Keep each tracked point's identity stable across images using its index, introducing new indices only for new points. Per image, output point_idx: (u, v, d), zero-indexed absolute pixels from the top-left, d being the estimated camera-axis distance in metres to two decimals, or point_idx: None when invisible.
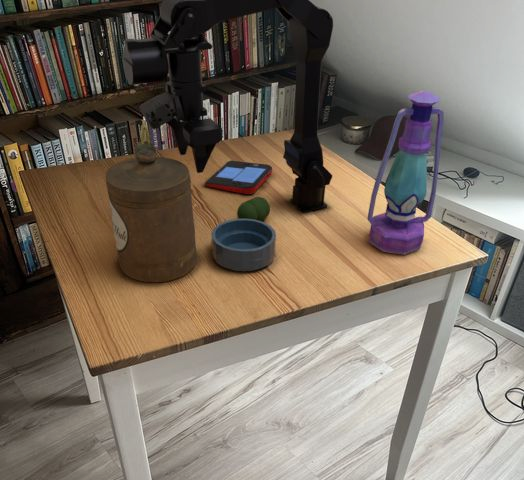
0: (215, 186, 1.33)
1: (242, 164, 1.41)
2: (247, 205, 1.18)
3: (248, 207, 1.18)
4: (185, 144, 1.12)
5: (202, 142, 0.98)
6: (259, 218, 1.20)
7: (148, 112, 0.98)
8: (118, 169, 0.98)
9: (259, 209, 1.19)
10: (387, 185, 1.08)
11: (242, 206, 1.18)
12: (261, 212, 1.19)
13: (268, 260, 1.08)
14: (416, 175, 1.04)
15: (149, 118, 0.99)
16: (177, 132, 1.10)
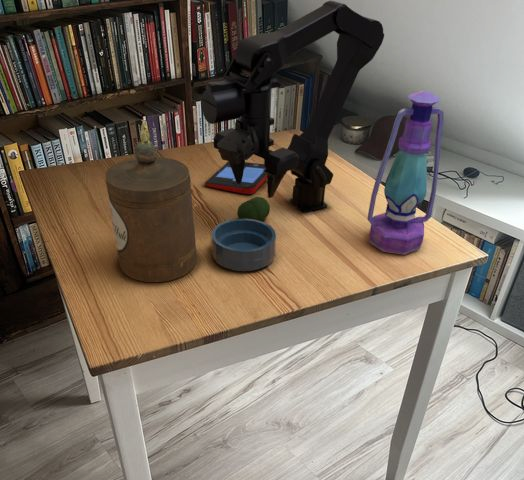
0: (215, 186, 1.33)
1: None
2: (247, 205, 1.18)
3: (248, 207, 1.18)
4: (241, 173, 1.19)
5: (286, 170, 1.08)
6: (259, 218, 1.20)
7: (233, 150, 1.05)
8: (118, 169, 0.98)
9: (259, 209, 1.19)
10: (387, 185, 1.08)
11: (242, 206, 1.18)
12: (261, 212, 1.19)
13: (268, 260, 1.08)
14: (416, 175, 1.04)
15: (234, 155, 1.05)
16: (235, 163, 1.17)
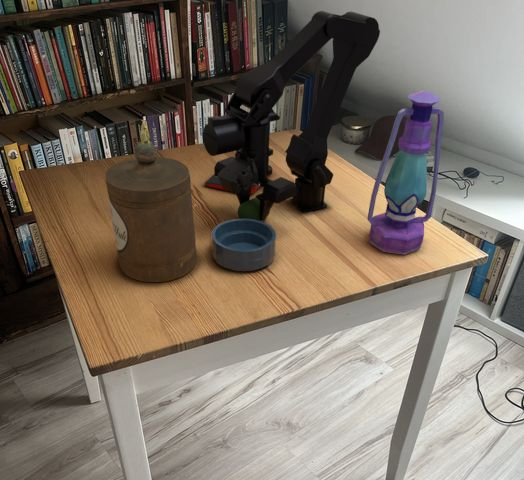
0: (215, 186, 1.33)
1: None
2: (247, 205, 1.18)
3: (248, 207, 1.18)
4: None
5: (284, 199, 1.12)
6: (259, 218, 1.20)
7: (233, 180, 1.09)
8: (118, 169, 0.98)
9: (259, 209, 1.19)
10: (387, 185, 1.08)
11: (242, 206, 1.18)
12: None
13: (268, 260, 1.08)
14: (416, 175, 1.04)
15: (234, 185, 1.09)
16: (242, 194, 1.20)
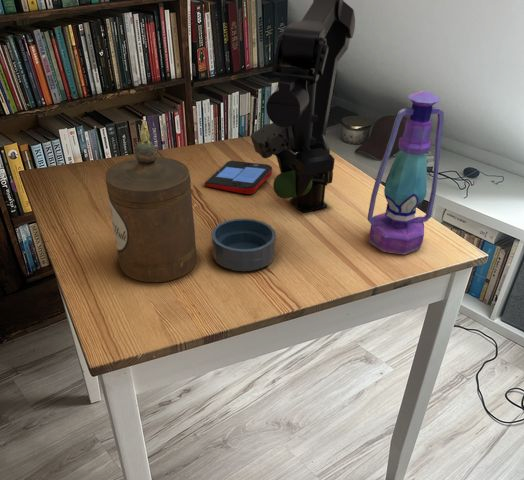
0: (215, 186, 1.33)
1: (242, 164, 1.41)
2: (283, 175, 1.07)
3: (283, 178, 1.07)
4: None
5: (315, 172, 0.99)
6: (295, 192, 1.08)
7: (262, 142, 0.99)
8: (118, 169, 0.98)
9: None
10: (387, 185, 1.08)
11: (278, 176, 1.07)
12: None
13: (268, 260, 1.08)
14: (416, 175, 1.04)
15: (262, 148, 0.99)
16: (283, 163, 1.09)
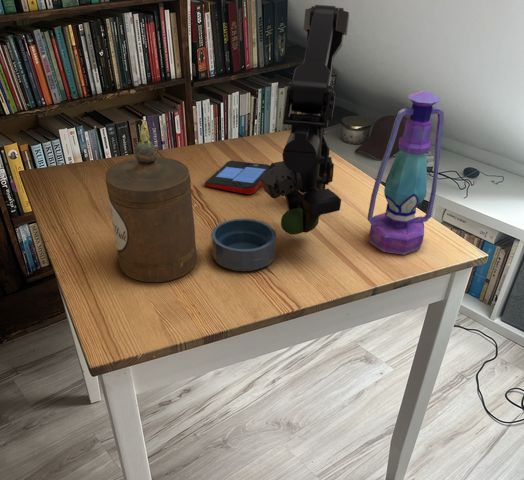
0: (215, 186, 1.33)
1: (242, 164, 1.41)
2: (291, 213, 1.10)
3: (291, 215, 1.10)
4: None
5: (322, 213, 1.02)
6: (302, 229, 1.11)
7: (271, 184, 1.02)
8: (118, 169, 0.98)
9: None
10: (387, 185, 1.08)
11: (286, 213, 1.11)
12: None
13: (268, 260, 1.08)
14: (416, 175, 1.04)
15: (271, 189, 1.03)
16: (291, 200, 1.12)
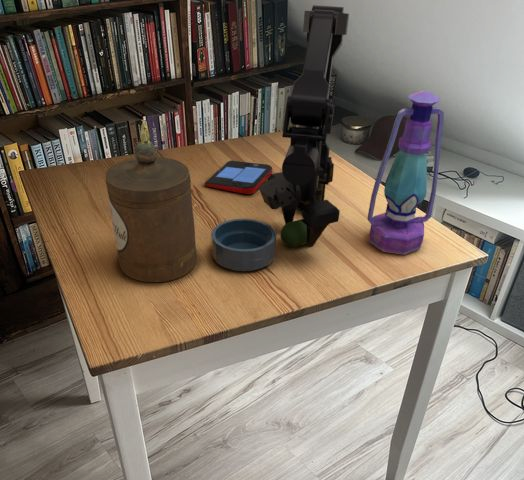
0: (215, 186, 1.33)
1: (242, 164, 1.41)
2: (290, 226, 1.12)
3: (291, 228, 1.12)
4: (291, 216, 1.17)
5: (321, 224, 1.04)
6: (301, 241, 1.13)
7: (270, 195, 1.03)
8: (118, 169, 0.98)
9: (302, 232, 1.12)
10: (387, 185, 1.08)
11: (286, 226, 1.13)
12: (305, 236, 1.13)
13: (268, 260, 1.08)
14: (416, 175, 1.04)
15: (271, 201, 1.04)
16: (285, 206, 1.15)
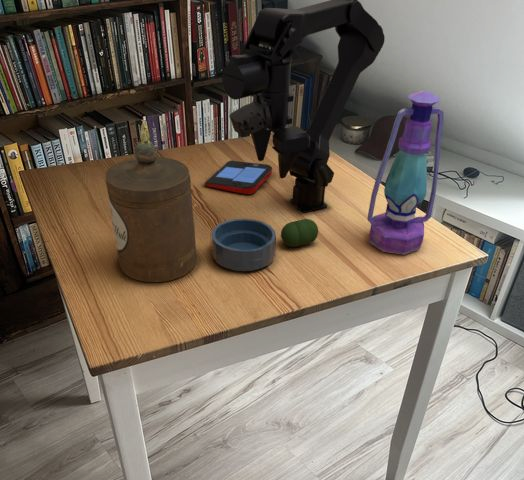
0: (215, 186, 1.33)
1: (242, 164, 1.41)
2: (291, 227, 1.12)
3: (292, 229, 1.12)
4: (264, 151, 1.17)
5: (292, 149, 1.03)
6: (301, 242, 1.13)
7: (240, 121, 1.03)
8: (118, 169, 0.98)
9: (303, 234, 1.12)
10: (387, 185, 1.08)
11: (286, 226, 1.12)
12: (305, 237, 1.13)
13: (268, 260, 1.08)
14: (416, 175, 1.04)
15: (241, 127, 1.03)
16: (257, 139, 1.15)
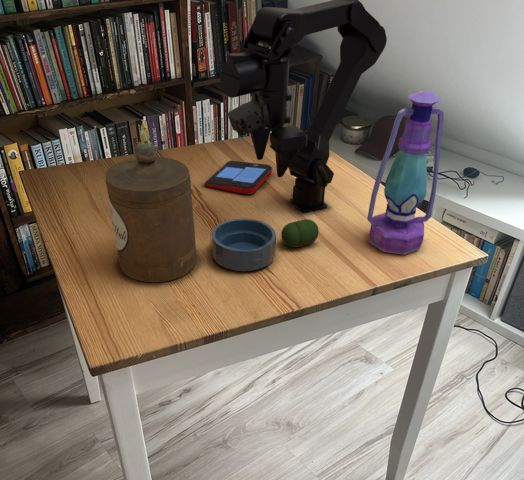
0: (215, 186, 1.33)
1: (242, 164, 1.41)
2: (292, 228, 1.12)
3: (292, 230, 1.11)
4: (263, 149, 1.17)
5: (289, 148, 1.04)
6: (302, 243, 1.13)
7: (238, 119, 1.03)
8: (118, 169, 0.98)
9: (304, 235, 1.12)
10: (387, 185, 1.08)
11: (287, 227, 1.12)
12: (306, 239, 1.13)
13: (268, 260, 1.08)
14: (416, 175, 1.04)
15: (238, 125, 1.04)
16: (256, 138, 1.15)
